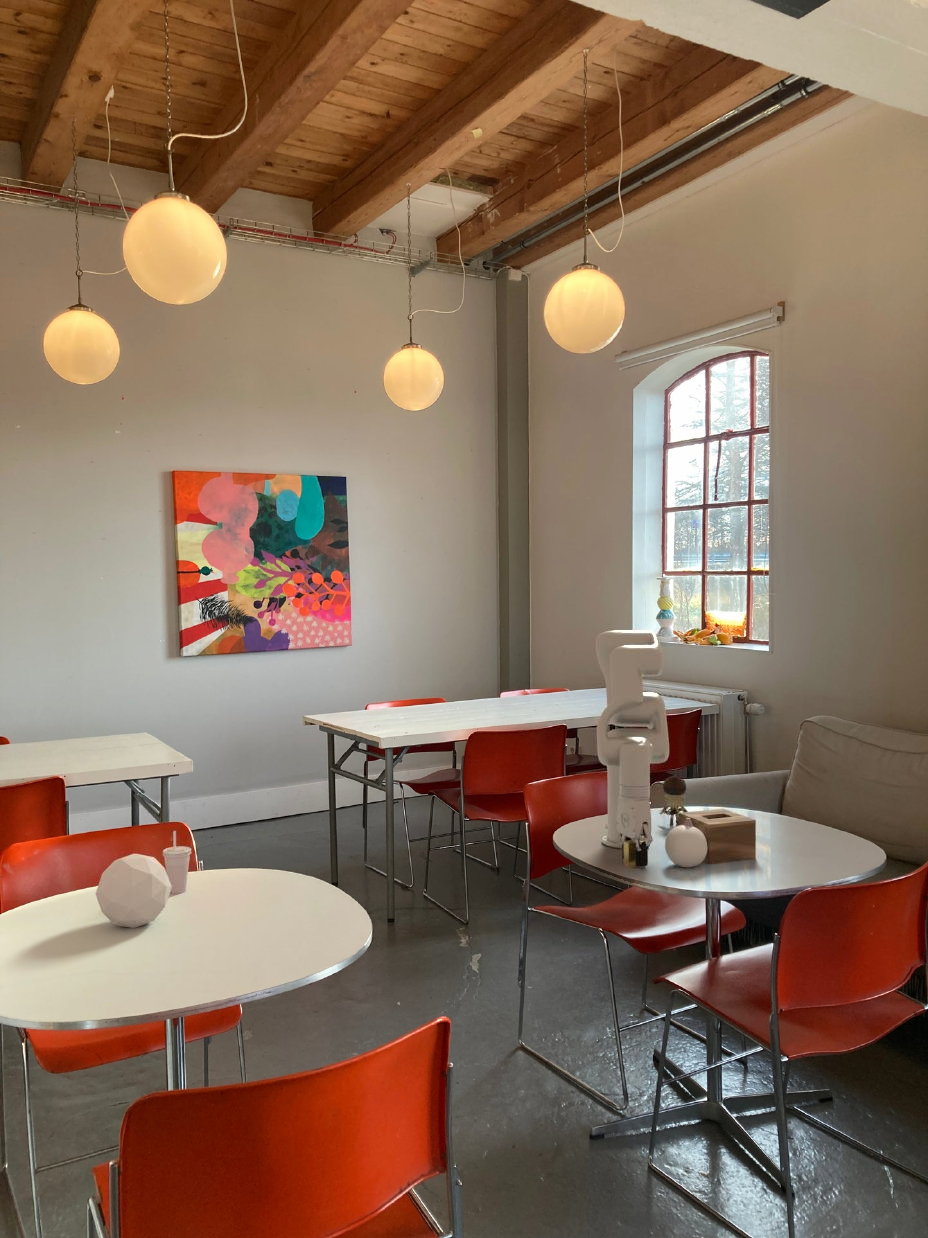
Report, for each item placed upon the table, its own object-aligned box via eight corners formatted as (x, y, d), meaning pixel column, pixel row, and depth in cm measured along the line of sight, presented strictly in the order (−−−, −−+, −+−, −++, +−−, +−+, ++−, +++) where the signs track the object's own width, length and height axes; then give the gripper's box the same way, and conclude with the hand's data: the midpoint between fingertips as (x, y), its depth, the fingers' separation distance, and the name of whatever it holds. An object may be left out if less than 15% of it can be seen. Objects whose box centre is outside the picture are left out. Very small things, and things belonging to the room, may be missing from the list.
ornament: (701, 860, 234) (701, 814, 234) (711, 872, 224) (711, 823, 224) (661, 860, 234) (661, 814, 234) (670, 872, 224) (669, 823, 224)
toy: (689, 823, 274) (689, 773, 274) (690, 828, 267) (690, 777, 267) (659, 821, 276) (659, 772, 276) (659, 827, 269) (659, 776, 269)
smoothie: (170, 886, 215) (169, 827, 215) (196, 887, 214) (195, 828, 214) (158, 895, 208) (157, 834, 208) (185, 896, 208) (184, 835, 208)
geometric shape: (146, 941, 194) (184, 876, 200) (143, 939, 180) (184, 869, 187) (85, 910, 193) (126, 845, 199) (77, 906, 179) (121, 837, 186)
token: (623, 864, 231) (623, 841, 231) (641, 862, 233) (641, 839, 233) (628, 867, 229) (628, 843, 229) (646, 865, 230) (646, 841, 230)
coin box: (678, 850, 244) (678, 812, 244) (723, 845, 249) (723, 808, 249) (709, 864, 231) (709, 824, 231) (755, 858, 236) (755, 820, 235)
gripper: (605, 786, 237) (605, 855, 237) (639, 799, 221) (639, 873, 221) (630, 784, 240) (630, 852, 240) (666, 797, 223) (666, 870, 224)
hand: (634, 861), depth 231 cm, fingers open, 5 cm apart
